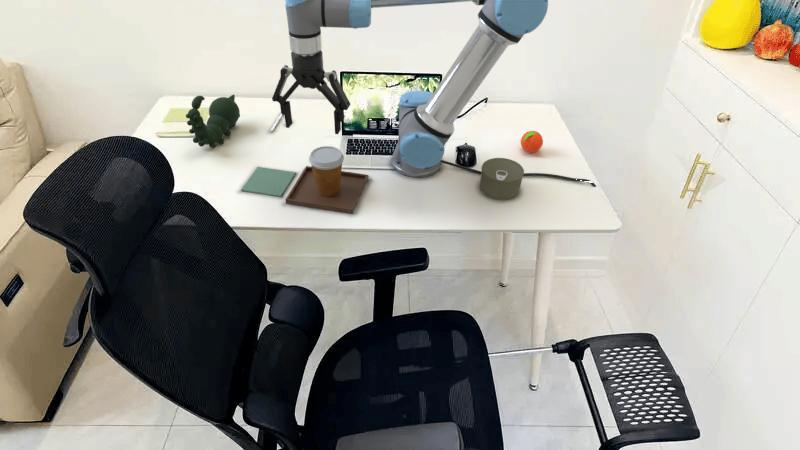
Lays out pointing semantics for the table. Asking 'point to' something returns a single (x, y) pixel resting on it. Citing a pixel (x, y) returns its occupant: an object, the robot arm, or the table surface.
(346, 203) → the tray
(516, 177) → the can
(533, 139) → the clementine
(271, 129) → the picture light
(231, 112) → the toy figurine
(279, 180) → the mat
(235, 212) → the table surface
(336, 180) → the disposable coffee cup
